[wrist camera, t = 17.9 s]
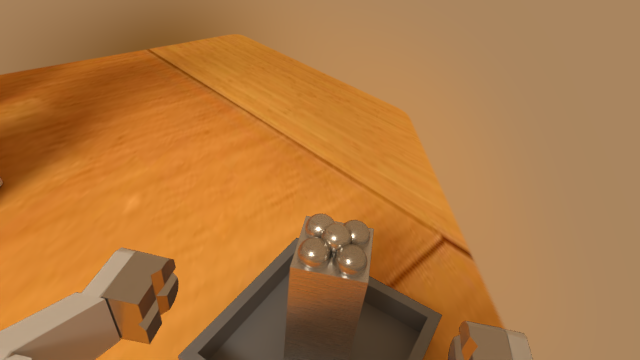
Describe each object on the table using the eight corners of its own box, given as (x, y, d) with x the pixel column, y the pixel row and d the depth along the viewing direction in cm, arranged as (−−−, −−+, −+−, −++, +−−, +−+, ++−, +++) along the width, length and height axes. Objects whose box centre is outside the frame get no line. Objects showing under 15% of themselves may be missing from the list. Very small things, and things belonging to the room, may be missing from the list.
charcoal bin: (183, 378, 32) (178, 355, 30) (295, 259, 44) (296, 237, 42) (352, 515, 26) (361, 499, 24) (431, 336, 38) (442, 315, 36)
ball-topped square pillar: (282, 371, 33) (291, 247, 24) (296, 319, 37) (307, 196, 28) (341, 384, 32) (373, 263, 23) (349, 330, 36) (378, 210, 27)
